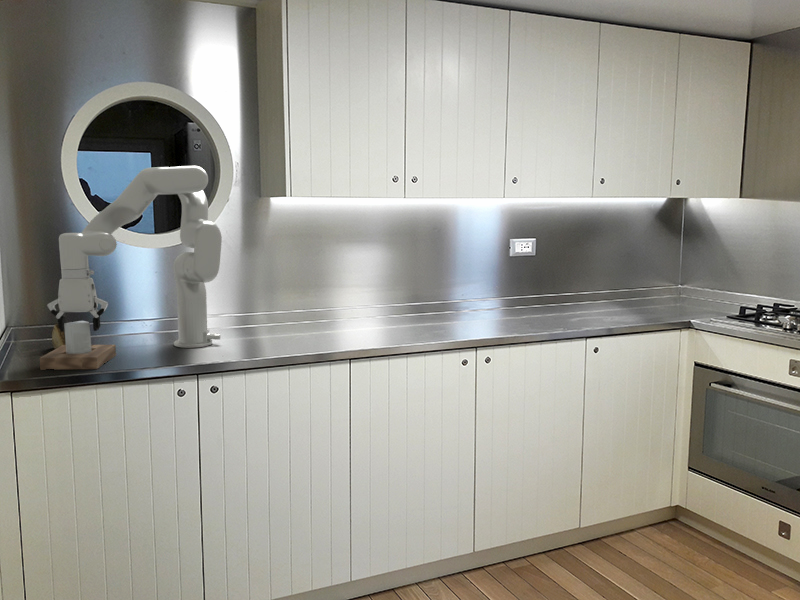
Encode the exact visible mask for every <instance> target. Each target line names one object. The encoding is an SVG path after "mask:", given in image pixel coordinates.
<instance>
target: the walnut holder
mask: <svg viewBox="0 0 800 600" xmlns="http://www.w3.org/2000/svg"><path fill="white" fill-rule="evenodd" d="M91 350H92V351H91V352H89V353H88V354H66V345H62V346H61V347H59V348H57V349H56V348H54V349H53V350H52V351H50V352H48V353H46V354H44V355H42V356H41V357H39V367H40V368H39V369H40V371H41V370H42V371H43V370H44V371H45V370H46V369H54V370H98V369H99V368H101V367H102V366H104V365H105V364H106V363H108V362H109V361H111V360H112V359H113V358H114V356H115V357H117V351H116V344H91ZM107 361H108V362H107ZM104 363H105V364H104ZM103 364H104V365H103ZM100 366H101V367H100Z"/></svg>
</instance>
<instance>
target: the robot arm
mask: <svg viewBox="0 0 800 600" xmlns="http://www.w3.org/2000/svg"><path fill="white" fill-rule="evenodd" d="M208 183H209V176H208V173H207V172H206V170H205V169H203V167H201V166H198V165H181V166H180V165H179V166H170V167H169V166H157V167H146V168H144V169H142V170H140V171H139V173H137V175H136V176H135V177H134V178H133V179H132V180H131V181H130V183H129V184H128V185H127V186H126V187H125V188H124V190H123V191H122V192H121V193H120V194H119V195H118V197H116V199H114V201H112V202H111V203H110V204H109V205H107V206H106V207H105V208H104V209H102V210H101V211H100V212H98V213H97V214H96V215H95V216H94V217H93V218H92V220H90V221H89V223H88V224H87V225H86V226H85V227H84V229H82V231H81V232H64V233H61V234H60V235H59V237H58V248H59V249H58V250H59V259H60V260H59V261H60V269H61V272H60V273H61V278H60V279H59V284H58V293H57V296H58V297H57V298H56V299H54V300H53V301H51V302H49V303H47V305H46V306H47V308H48V309H49V311H50V313H51V314H52V315H53V316H54V317H55V318H56V319H57V324H58V327H59V329H60V332H63V331H65V328H64V323H67V321H66V317H65V316H66V313H89V314H91V315H92V316H93V318H92V328H93V329H92V330H93V331H94V332H97V331H99V330H100V328H101V317H102V315H103V314H104V313H105V311H106V310H107V308H108V306H109V302H108V301H105V300H104V299H101V298H99V297H98V295H97V291H96V290H97V289H96V287H95V286H96V285H95V282H94V279H93V278H92V277H91V276H92V275H93V276H94V274H95V271H94V270H92V269H90V267H89V266H90V265H89V256H90V257H91V256H92V257H93V256H94V257H105V256H110V255H111V254H113V253H114V252H115V251H116V249H117V246H118V244H117V240H116V237H115V236H114V235H112V234H113V233H114V232H116V230H118V229H119V228H121V227H123V226H124V225H127V224H130V223H132V222H133V221H136V220H137V219H139V218H140V217H141V216H142V214H144V212H145V211H146V210H147V208H148V207H149V206H150V205H151V204H152V202H153V201H154V200H155V199H156V197H158V196H159V195H177V196H178V198H179V200H180V203H181V218H180V231H179V239H180V243H182V245H183V246H185V247H187V248H191V249H194V250H193V251H187V252H183V253H181V254H179V255H177V257H176V258H175V260H174V261H173V274H174V275H173V276H174V280H175V284H176V297H177V298H176V300H177V301H176V302H177V328H178V330H177V331H178V339H176V340H175V341H174V342H173V345H174V346H175V347H177V348H184V349H191V348H193V349H194V348H195V349H196V348H205V347H208V346H211V345H213V340H214V341H215V340H217V341H218V340H221V334H220V333H216V332H215V333H211V332H210V329H208V306H207V305H208V304H207V288H206V284H205V283H210V282H212V281H214V280H215V279H216V277H218V274H219V272H220V264H221V254H222V253H221V252H222V242H223V241H222V237H223V236H222V233H221V230H220V228H219V226H218V225H217V224H216V223H214V222H213V221H211V220H209V202H208V198H207V196H206V193H205V191H204V190H205V189H206V187H207V186H208ZM57 304H58V309H56V305H57ZM98 304H99V305H100V306H101V307H100V309H97V308H98V306H99V305H98Z"/></svg>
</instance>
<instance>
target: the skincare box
mask: <svg viewBox="0 0 800 600" xmlns="http://www.w3.org/2000/svg"><path fill="white" fill-rule="evenodd" d="M64 328H65V341H66V354H88V353H89V352H91V351H92V350H91V345H92V338H91V336H92V335H91V322H90V321H86V320H78V321H77V320H76V321H73V322H72V321H69V322H66V323H64Z"/></svg>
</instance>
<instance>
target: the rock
mask: <svg viewBox="0 0 800 600" xmlns="http://www.w3.org/2000/svg"><path fill="white" fill-rule="evenodd" d="M51 338H52V339H51V340H52V341H51V343H52V346H53V348H54V349H57V348H59V347H61V346H62V345H66V341H65V331H63V332H60V329H59V327H58V323H56V324H54V326H53V329H52V333H51Z"/></svg>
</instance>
